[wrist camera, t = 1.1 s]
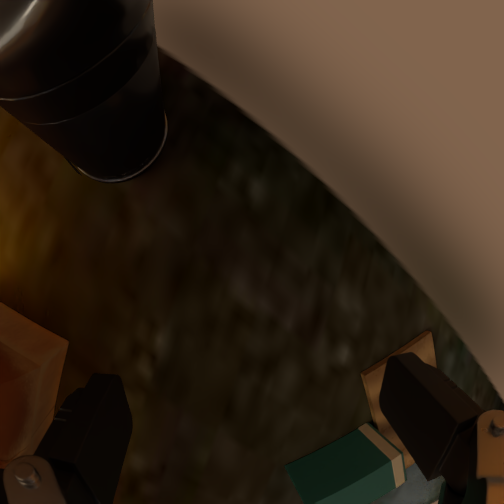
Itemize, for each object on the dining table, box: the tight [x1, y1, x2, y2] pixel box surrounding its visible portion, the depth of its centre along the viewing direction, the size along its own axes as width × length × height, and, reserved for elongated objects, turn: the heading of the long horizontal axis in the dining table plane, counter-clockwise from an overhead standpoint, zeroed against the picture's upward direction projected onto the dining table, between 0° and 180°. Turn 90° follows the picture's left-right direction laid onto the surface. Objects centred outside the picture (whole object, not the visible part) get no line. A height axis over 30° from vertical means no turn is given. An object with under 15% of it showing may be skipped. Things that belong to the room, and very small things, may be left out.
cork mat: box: [361, 330, 437, 469], centre depth 32 cm, size 20×10×1 cm, turn 21°
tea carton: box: [285, 422, 407, 504], centre depth 27 cm, size 6×11×8 cm, turn 111°
